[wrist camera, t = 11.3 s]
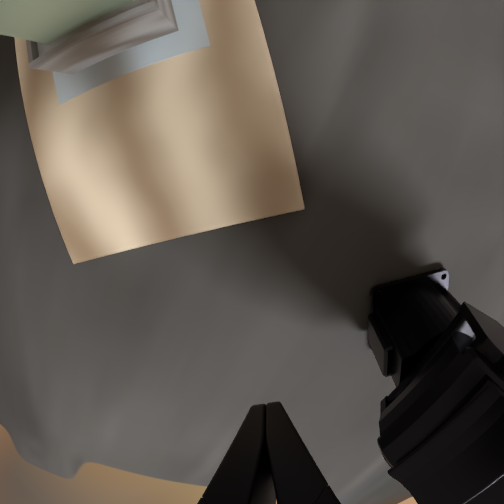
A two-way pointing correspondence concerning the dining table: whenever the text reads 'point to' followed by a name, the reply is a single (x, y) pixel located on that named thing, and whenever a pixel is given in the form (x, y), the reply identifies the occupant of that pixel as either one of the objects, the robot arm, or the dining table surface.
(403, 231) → the dining table surface
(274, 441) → the robot arm
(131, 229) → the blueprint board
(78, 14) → the sage block
